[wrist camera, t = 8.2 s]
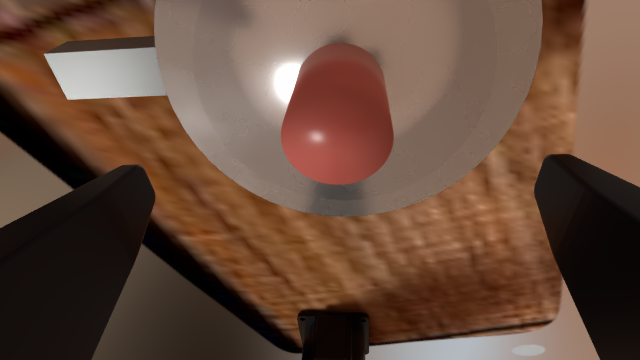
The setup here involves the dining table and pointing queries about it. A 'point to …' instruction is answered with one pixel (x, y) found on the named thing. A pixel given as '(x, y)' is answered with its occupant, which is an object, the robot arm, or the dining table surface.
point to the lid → (347, 92)
